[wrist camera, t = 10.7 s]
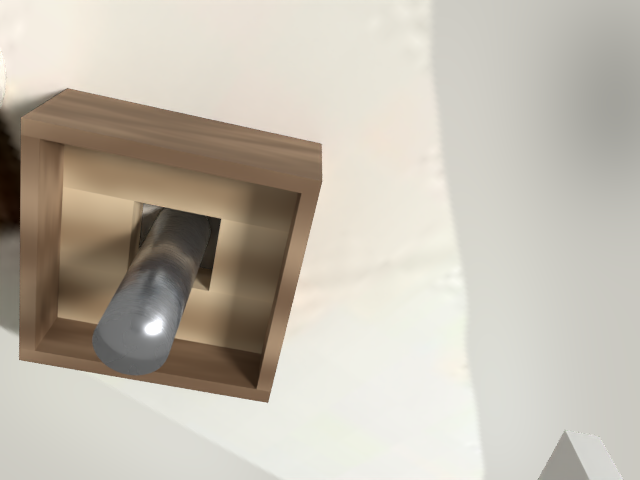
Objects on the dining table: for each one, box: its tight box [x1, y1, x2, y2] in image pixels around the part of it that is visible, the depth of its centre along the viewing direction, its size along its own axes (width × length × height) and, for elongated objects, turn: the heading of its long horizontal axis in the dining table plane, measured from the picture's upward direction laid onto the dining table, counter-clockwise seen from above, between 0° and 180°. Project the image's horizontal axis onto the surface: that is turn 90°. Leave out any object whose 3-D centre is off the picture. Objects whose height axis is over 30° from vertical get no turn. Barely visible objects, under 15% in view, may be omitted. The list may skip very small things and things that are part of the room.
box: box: [19, 88, 322, 403], centre depth 41 cm, size 17×17×7 cm
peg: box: [92, 208, 211, 375], centre depth 38 cm, size 4×4×14 cm
